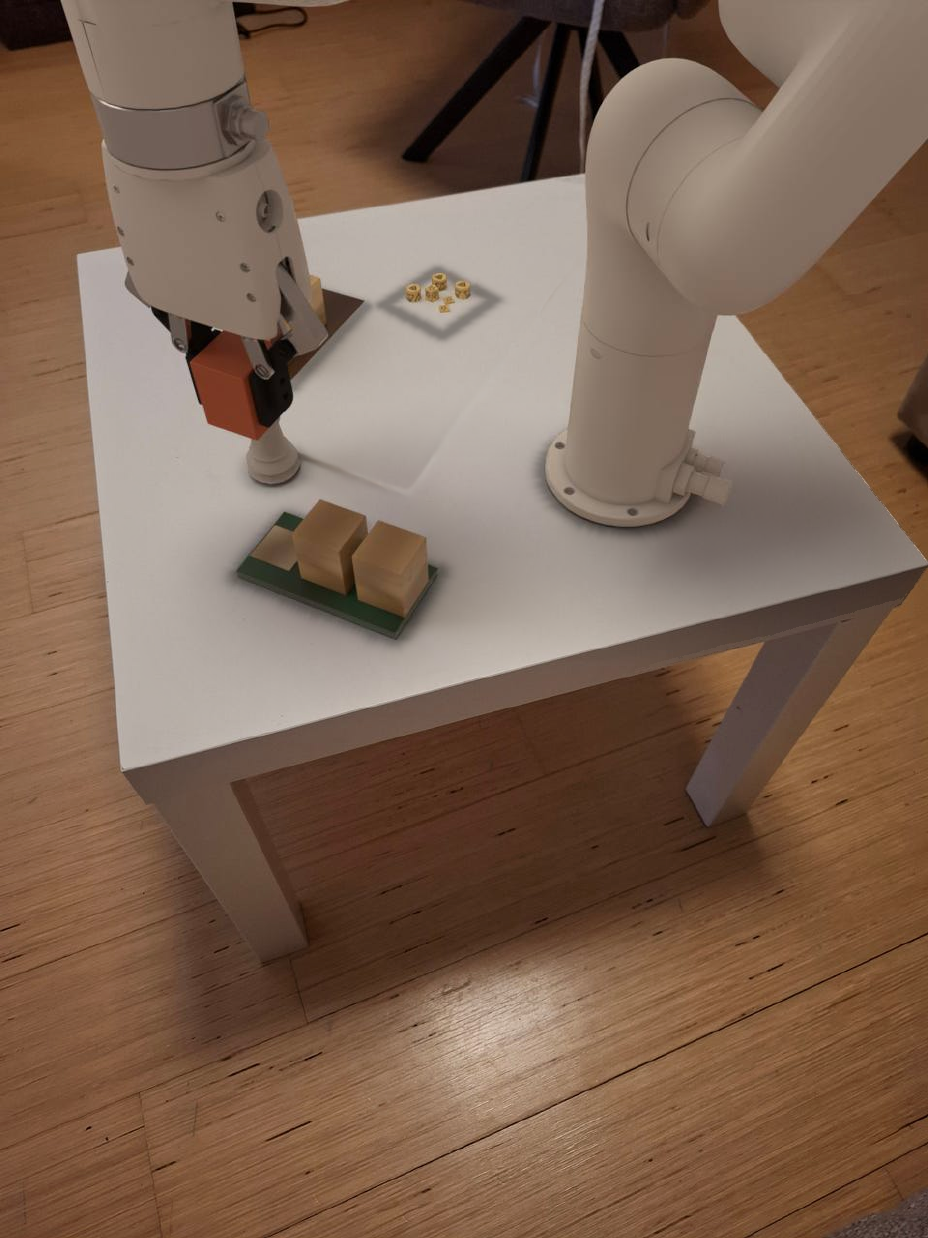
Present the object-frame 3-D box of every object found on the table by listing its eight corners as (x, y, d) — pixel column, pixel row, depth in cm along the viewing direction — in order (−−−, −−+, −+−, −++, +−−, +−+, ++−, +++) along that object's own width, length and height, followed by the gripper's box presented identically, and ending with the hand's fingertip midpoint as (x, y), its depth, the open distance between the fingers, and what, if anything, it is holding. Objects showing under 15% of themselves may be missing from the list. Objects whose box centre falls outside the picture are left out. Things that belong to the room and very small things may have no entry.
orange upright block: (290, 405, 62) (278, 343, 58) (257, 441, 59) (242, 379, 55) (241, 389, 63) (225, 326, 59) (207, 424, 60) (188, 361, 56)
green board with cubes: (438, 574, 71) (436, 523, 66) (395, 639, 67) (390, 590, 63) (285, 517, 75) (273, 465, 70) (237, 577, 71) (221, 526, 66)
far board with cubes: (365, 307, 92) (360, 254, 88) (292, 387, 85) (282, 334, 80) (306, 290, 94) (298, 237, 90) (229, 366, 87) (216, 313, 82)
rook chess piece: (256, 493, 76) (237, 419, 70) (242, 459, 79) (222, 385, 73) (307, 478, 78) (292, 403, 71) (291, 445, 80) (276, 370, 74)
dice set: (403, 305, 93) (402, 288, 91) (437, 283, 95) (436, 266, 93) (440, 324, 91) (440, 307, 89) (473, 301, 93) (474, 284, 91)
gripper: (358, 117, 46) (384, 406, 60) (93, 56, 50) (178, 339, 65) (276, 186, 41) (326, 478, 56) (-4, 113, 46) (110, 401, 60)
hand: (246, 401), depth 60 cm, fingers closed on orange upright block, 4 cm apart
